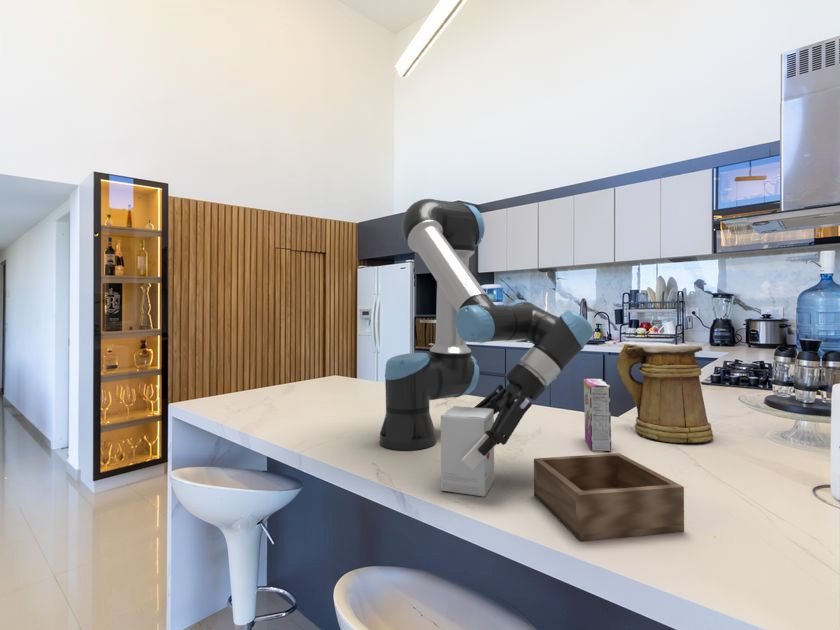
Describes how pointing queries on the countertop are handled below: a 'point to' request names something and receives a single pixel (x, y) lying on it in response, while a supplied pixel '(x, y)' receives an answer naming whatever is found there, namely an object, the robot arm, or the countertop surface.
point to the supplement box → (465, 450)
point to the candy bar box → (597, 414)
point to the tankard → (666, 392)
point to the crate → (608, 496)
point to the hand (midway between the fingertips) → (459, 454)
